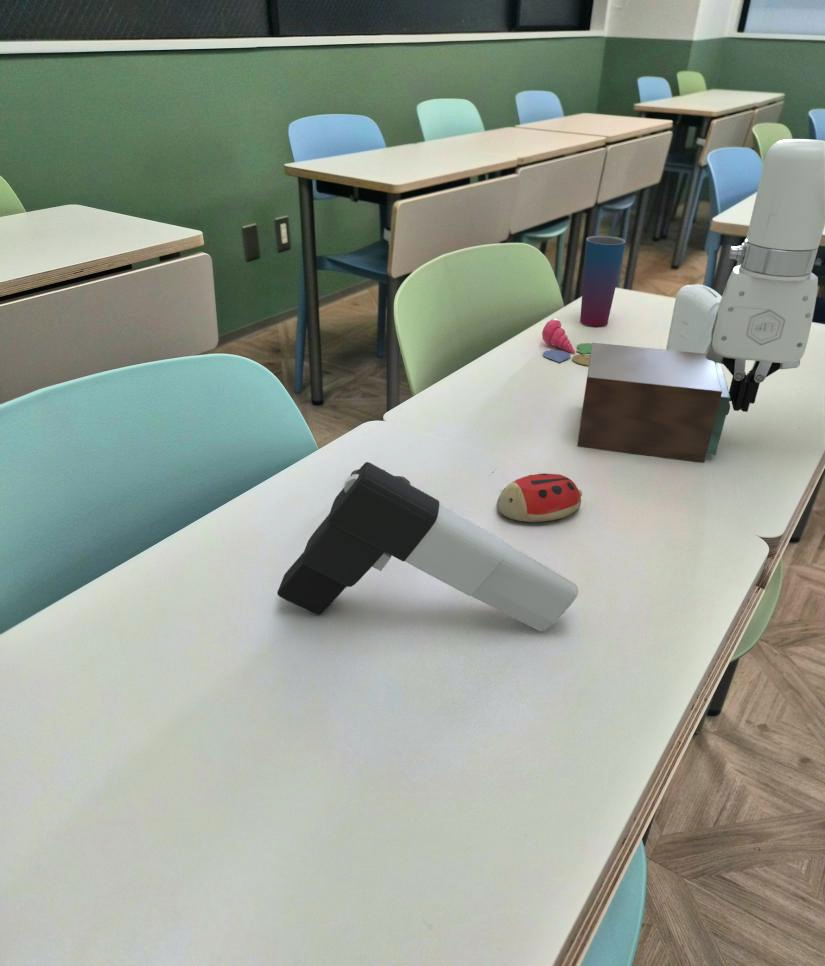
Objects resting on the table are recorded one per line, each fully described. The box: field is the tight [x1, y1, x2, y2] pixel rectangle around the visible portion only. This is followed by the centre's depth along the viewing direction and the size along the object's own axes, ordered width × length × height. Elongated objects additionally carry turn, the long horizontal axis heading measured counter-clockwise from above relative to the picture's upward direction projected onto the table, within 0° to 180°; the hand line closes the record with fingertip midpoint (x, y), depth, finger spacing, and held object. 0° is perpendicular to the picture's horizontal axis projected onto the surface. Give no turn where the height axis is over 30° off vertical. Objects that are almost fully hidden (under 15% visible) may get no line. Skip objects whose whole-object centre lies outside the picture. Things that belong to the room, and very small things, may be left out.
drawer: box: [706, 363, 731, 456], centre depth 95 cm, size 16×11×8 cm
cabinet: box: [576, 342, 722, 463], centre depth 95 cm, size 16×13×10 cm
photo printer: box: [665, 283, 722, 363], centre depth 116 cm, size 10×4×12 cm, turn 13°
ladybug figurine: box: [496, 473, 583, 523], centre depth 80 cm, size 7×10×4 cm
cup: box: [579, 235, 627, 328], centre depth 132 cm, size 7×7×15 cm
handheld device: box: [276, 461, 579, 633], centre depth 64 cm, size 4×22×15 cm, turn 84°
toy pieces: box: [541, 318, 593, 367], centre depth 122 cm, size 12×11×4 cm
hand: (739, 406), depth 92 cm, fingers closed
